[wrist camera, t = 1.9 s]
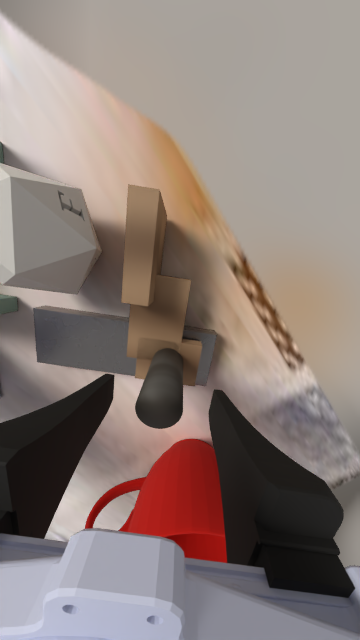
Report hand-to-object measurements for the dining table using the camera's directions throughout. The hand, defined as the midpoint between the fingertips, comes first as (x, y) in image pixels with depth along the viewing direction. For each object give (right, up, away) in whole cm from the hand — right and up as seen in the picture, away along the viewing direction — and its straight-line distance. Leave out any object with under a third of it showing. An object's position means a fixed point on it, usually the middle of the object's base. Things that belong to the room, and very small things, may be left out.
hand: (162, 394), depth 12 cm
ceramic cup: (+1, -13, +12) cm, 18 cm away
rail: (-5, +3, +7) cm, 9 cm away
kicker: (0, +7, +6) cm, 9 cm away
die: (-9, +13, +5) cm, 17 cm away
